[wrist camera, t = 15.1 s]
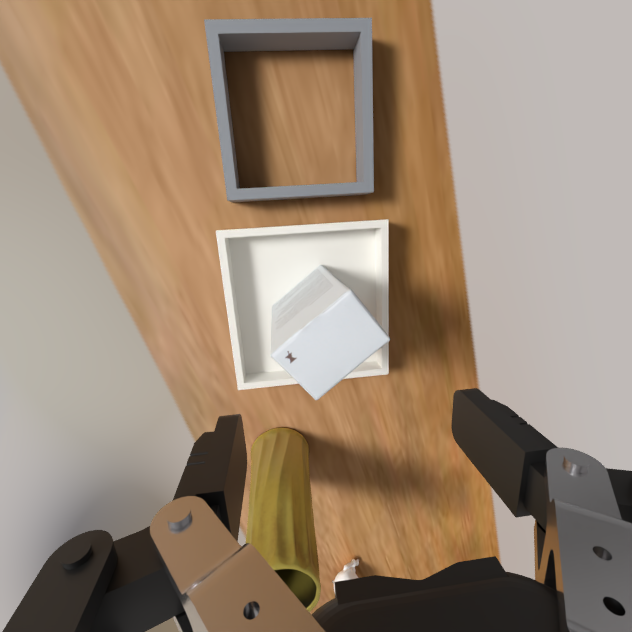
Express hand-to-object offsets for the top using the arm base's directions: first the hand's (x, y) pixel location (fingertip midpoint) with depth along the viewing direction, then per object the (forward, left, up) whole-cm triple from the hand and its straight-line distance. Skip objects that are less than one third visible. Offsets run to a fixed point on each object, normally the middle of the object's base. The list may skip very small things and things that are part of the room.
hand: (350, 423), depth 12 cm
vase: (+16, -4, -20) cm, 26 cm away
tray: (0, 0, -20) cm, 20 cm away
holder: (-15, 0, -20) cm, 25 cm away
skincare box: (0, 0, -19) cm, 19 cm away
